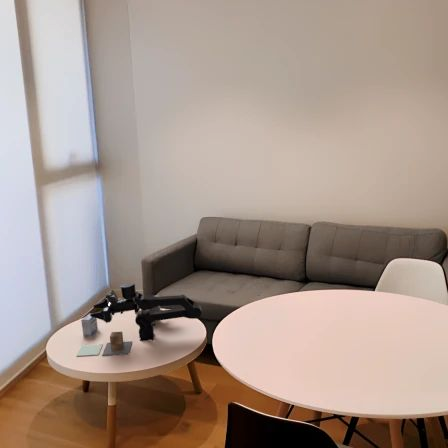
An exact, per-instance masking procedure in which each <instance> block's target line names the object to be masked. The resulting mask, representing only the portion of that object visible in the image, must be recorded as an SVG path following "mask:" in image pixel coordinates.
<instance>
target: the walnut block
mask: <svg viewBox="0 0 448 448" xmlns="http://www.w3.org/2000/svg"><path fill="white" fill-rule="evenodd" d="M123 334H124V333H123V331H111V333H110V335H109V341H110V342H109V343H110V344H111V351H114V350H122V349H123V345H124V343H123V342H124V335H123Z"/></svg>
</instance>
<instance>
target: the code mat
mask: <svg viewBox="0 0 448 448" xmlns="http://www.w3.org/2000/svg"><path fill="white" fill-rule="evenodd" d="M123 343H124V345H123V349H122V350H114V351H111V344H110V342H106V345H105V347H104V349H103V352H102V354H101V356H102V357H107V356H110V357H111V356H122V355H123V356H127V355H128V356H129V354H130V351H131V347H132V344H133V341H132V340H129V341H123Z"/></svg>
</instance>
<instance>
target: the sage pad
mask: <svg viewBox="0 0 448 448" xmlns="http://www.w3.org/2000/svg"><path fill="white" fill-rule="evenodd" d="M102 347H103V343H102V344H85V345H81V346H80V348H79V350H78V352H77V354H76V357H90V356H91V357H92V356H99V355H100V352H101V350H102Z"/></svg>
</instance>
